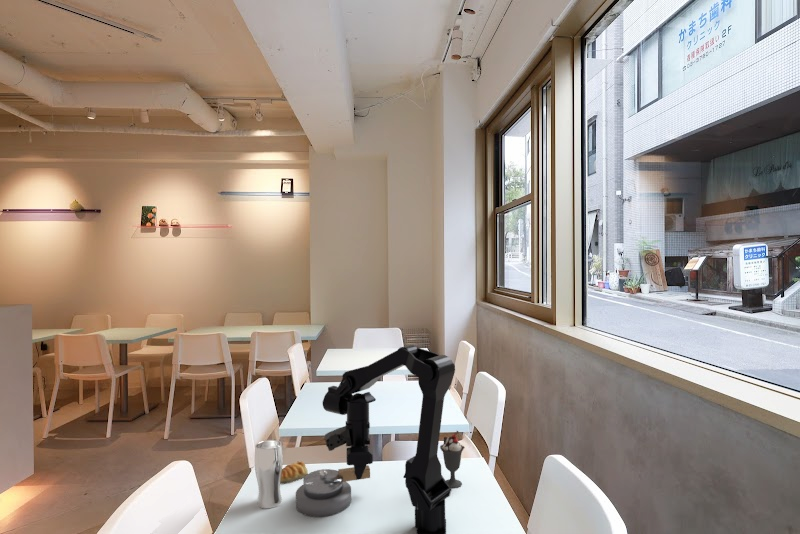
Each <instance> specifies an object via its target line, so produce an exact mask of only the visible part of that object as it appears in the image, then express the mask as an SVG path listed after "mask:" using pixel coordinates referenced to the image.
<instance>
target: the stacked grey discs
mask: <svg viewBox="0 0 800 534" xmlns="http://www.w3.org/2000/svg"><path fill="white" fill-rule="evenodd" d="M351 503H352V487H351V484H349V482H348V481H345V482H343V490H342V492H341V493H340V494H338V495H336V496H334V497H331V498H327V499H312V498H309V497H307V496H306V495H305V494H304V484H301V485H300V486H299V487H298V488H297V490H296V492H295V508H296V510H297V512H298V513H300V514H302V515H303V516H307V517H312V518H323V517H330V516H334V515H337V514H339V513H342V512H344V511H345V510H347V509H348V508H349V507H350V506H351Z"/></svg>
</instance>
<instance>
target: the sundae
mask: <svg viewBox="0 0 800 534" xmlns="http://www.w3.org/2000/svg"><path fill="white" fill-rule="evenodd" d="M457 434H459V430H456V432H455V433H453V434H452V435H451V436H449V437H448V436H444V437H443V444H441V445H440V446H439V449H440V450H441V452H442V455H443V461H444V466H445V467H444V468H446V470H447V471H449V472H450V479H449V478H448V479H445V481H446V482H447V483H448V485H449V486H450V488H451V489H457V488H460V487H461V486H462V485H463V483H462V481H461V480H459V479H456V473H455V472H457V471H458V470H459V469H460V465H461V460H462V453H463V451H464V449H465V446H464V445H463V444H461V443H460V442H459V440H458V438H457Z"/></svg>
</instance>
